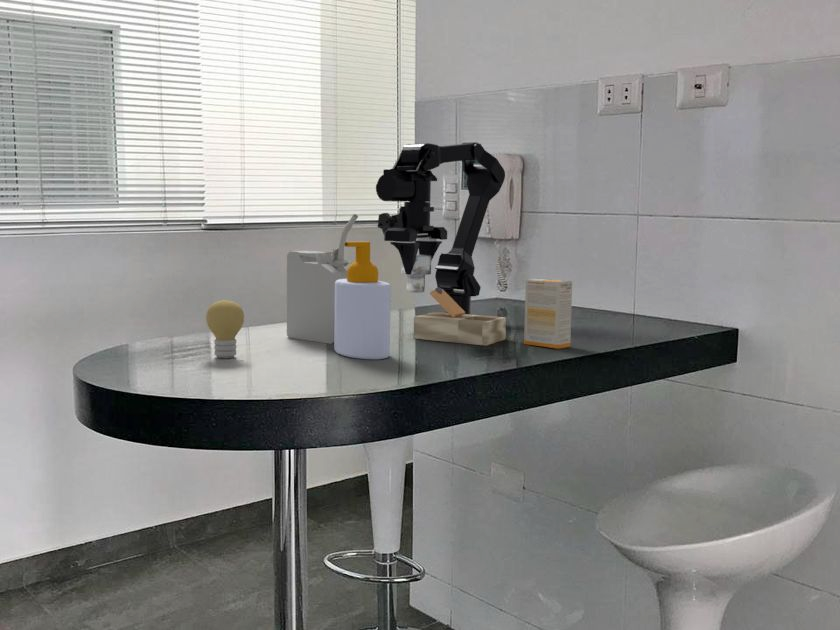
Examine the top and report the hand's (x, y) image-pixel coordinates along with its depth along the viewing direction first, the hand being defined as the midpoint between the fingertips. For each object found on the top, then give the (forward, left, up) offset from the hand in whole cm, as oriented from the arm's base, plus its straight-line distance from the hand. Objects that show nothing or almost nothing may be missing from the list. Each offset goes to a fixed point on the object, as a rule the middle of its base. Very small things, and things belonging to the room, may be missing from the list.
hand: (416, 273), depth 196 cm
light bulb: (+53, -9, -12) cm, 55 cm away
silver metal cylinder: (0, 0, -4) cm, 4 cm away
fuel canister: (+27, -6, -12) cm, 30 cm away
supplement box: (+8, +34, -12) cm, 37 cm away
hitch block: (+10, +16, -12) cm, 22 cm away
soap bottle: (+37, +9, -12) cm, 40 cm away
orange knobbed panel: (+10, +12, -5) cm, 17 cm away
